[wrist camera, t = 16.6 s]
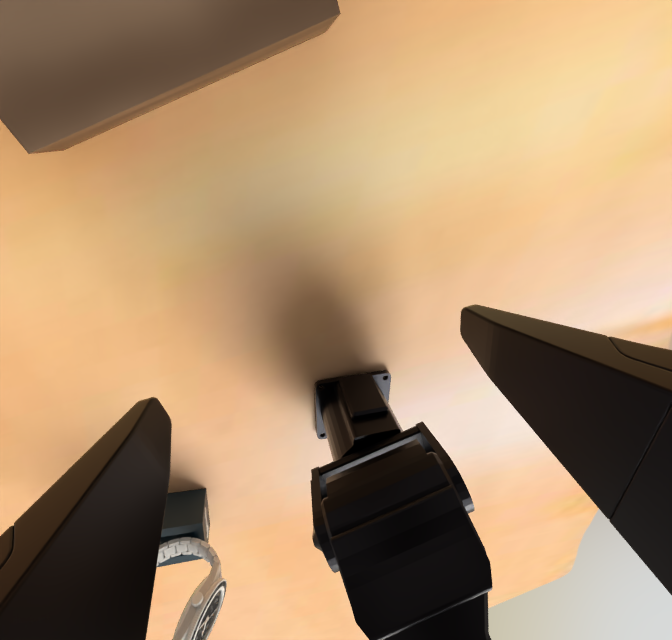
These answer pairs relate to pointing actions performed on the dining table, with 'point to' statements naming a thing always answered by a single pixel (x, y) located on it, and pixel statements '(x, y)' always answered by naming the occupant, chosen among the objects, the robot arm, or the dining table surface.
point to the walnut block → (131, 57)
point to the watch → (192, 544)
